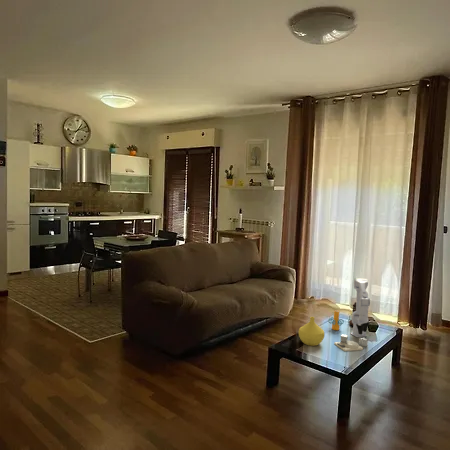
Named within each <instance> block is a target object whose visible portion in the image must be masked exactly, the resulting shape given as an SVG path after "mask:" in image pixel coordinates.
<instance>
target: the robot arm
mask: <svg viewBox="0 0 450 450" xmlns="http://www.w3.org/2000/svg"><path fill="white" fill-rule="evenodd" d="M368 285H369V280H368V278H359V277H358V278H354V279H353V289H355V291H356V301H355V302H356V311H355V312H352V314H351V320H352V323H353V325H352V326H353V327H352V332H350V334H351V335H352V336H354V337H356V338H365V337H367V331H368V327H369V325H370V324H371V322H370V321H369V307H370V304H371V300H370V297H369V295H368V292H367V291H366V290H367V288H368Z"/></svg>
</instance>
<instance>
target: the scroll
mask: <svg viewBox="0 0 450 450" xmlns="http://www.w3.org/2000/svg"><path fill="white" fill-rule="evenodd" d="M351 311H352V313H353V312H355V311H356V301H355V302H354V303H353V304H352V310H351ZM348 324H349V325H351V326H353V323H352V319H350V320H349V321H348Z"/></svg>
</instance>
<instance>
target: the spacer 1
mask: <svg viewBox="0 0 450 450" xmlns="http://www.w3.org/2000/svg"><path fill="white" fill-rule="evenodd" d="M348 338H349V337H348V334H343V333H342V334H341V335H340V341H339V342H340V343H345V344H346V343H347V340H348V341H349V339H348Z"/></svg>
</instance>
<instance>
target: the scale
mask: <svg viewBox="0 0 450 450" xmlns="http://www.w3.org/2000/svg"><path fill="white" fill-rule="evenodd" d="M340 342H341V341H336V342H335V341H334V343H333V344H334V345H335V346H336V347H338V348H340V350H341V351H344V352H351V351H363V350H364V347H362V346H360V345H359V342H356V341H353V340H349V339H348V340H347V343H346V344H345V343H340Z"/></svg>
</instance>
